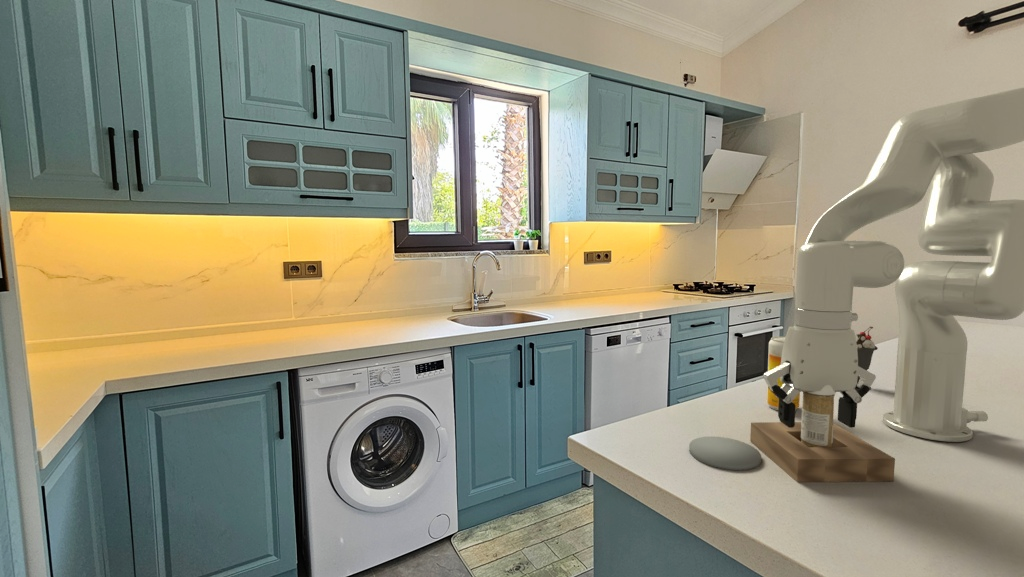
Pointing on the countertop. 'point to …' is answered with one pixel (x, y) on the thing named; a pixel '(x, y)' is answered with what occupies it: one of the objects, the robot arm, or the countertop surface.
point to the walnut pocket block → (822, 455)
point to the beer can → (774, 362)
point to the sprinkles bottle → (818, 418)
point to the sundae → (864, 350)
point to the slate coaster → (725, 453)
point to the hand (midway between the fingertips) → (816, 424)
